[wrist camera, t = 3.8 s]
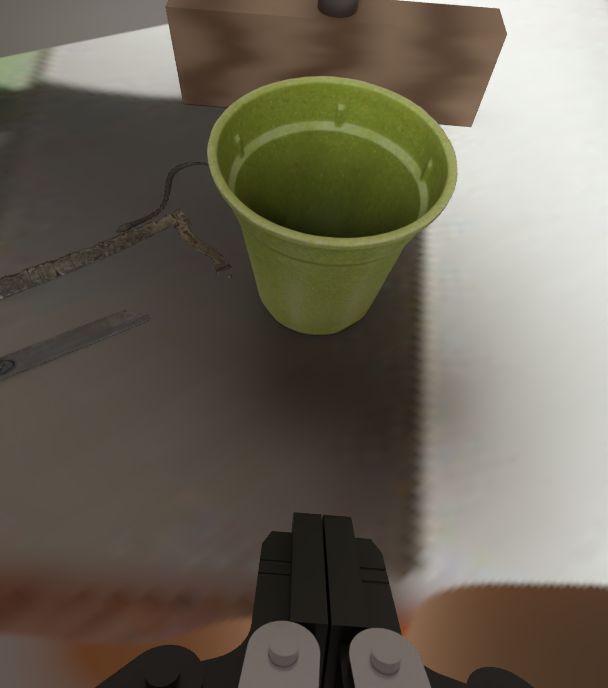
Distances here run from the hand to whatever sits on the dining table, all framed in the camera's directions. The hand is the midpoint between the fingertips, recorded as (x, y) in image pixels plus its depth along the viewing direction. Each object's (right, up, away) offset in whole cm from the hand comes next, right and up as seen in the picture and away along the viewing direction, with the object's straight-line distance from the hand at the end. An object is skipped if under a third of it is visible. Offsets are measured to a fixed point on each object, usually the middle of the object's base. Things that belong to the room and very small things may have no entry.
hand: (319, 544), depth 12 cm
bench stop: (+1, +22, +21) cm, 31 cm away
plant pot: (0, +8, +13) cm, 15 cm away
